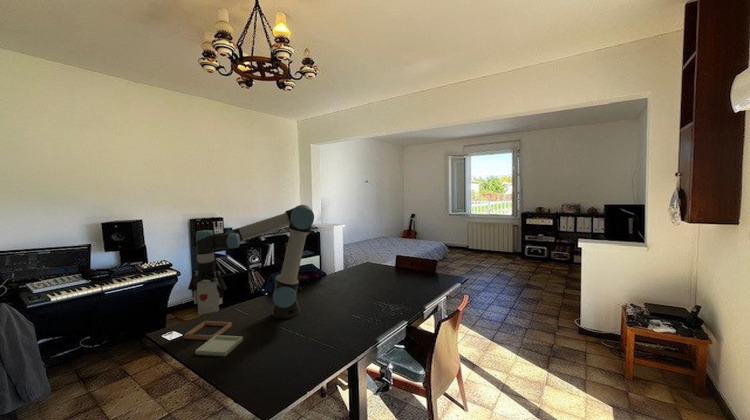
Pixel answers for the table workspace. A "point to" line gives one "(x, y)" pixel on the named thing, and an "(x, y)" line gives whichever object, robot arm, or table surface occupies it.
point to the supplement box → (207, 297)
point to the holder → (207, 337)
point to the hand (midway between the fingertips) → (208, 303)
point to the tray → (219, 345)
